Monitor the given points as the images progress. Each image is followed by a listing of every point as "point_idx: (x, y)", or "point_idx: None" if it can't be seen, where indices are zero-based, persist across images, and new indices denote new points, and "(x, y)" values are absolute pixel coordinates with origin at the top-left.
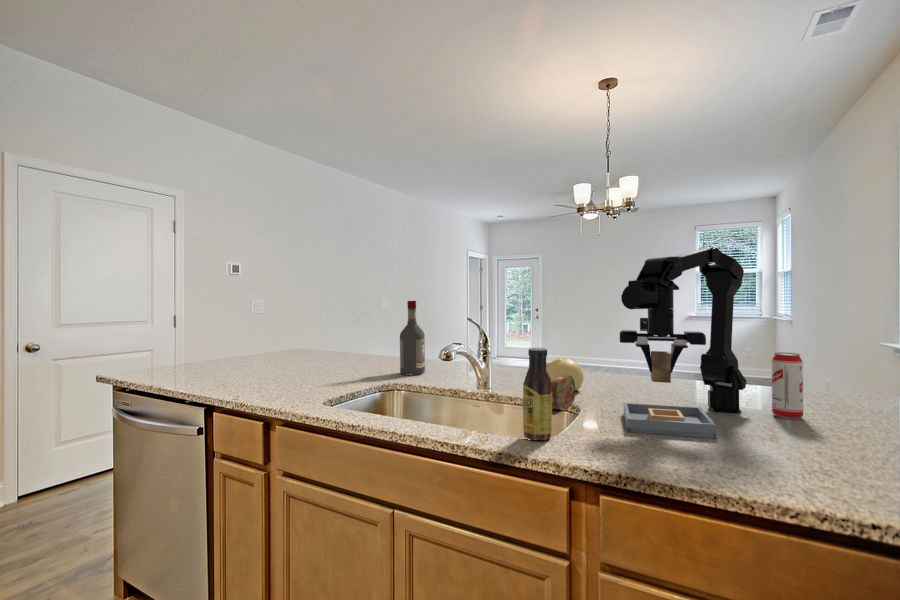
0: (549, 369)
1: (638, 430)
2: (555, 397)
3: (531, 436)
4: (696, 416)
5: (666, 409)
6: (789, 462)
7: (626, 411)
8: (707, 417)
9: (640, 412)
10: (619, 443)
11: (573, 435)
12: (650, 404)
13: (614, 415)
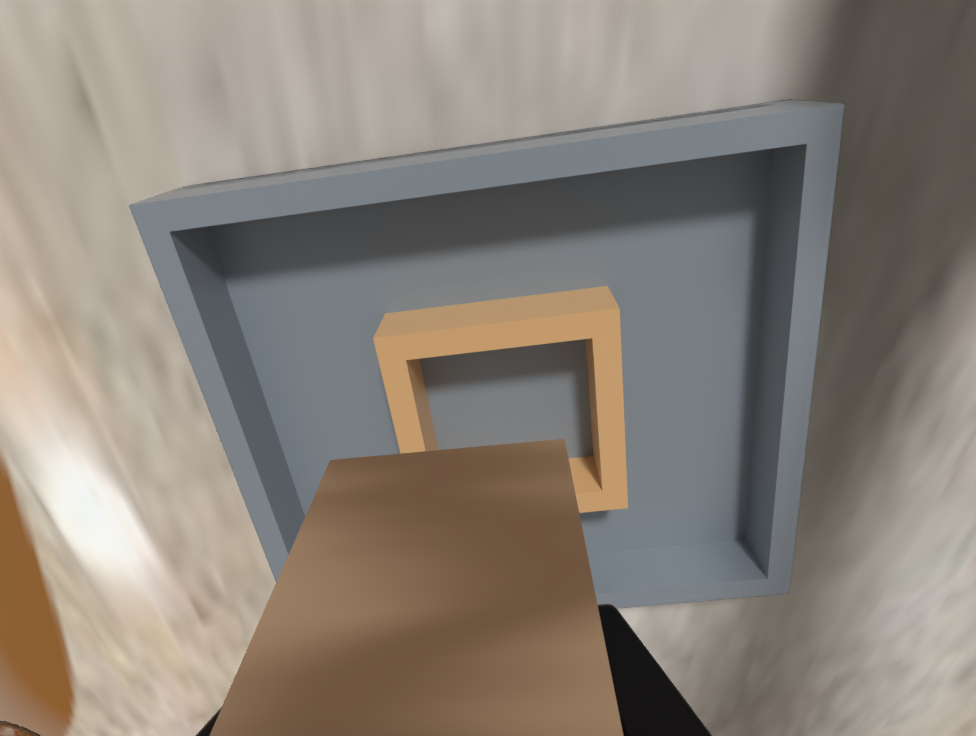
0: None
1: None
2: None
3: None
4: (755, 168)
5: (518, 323)
6: (944, 704)
7: (246, 489)
8: (789, 453)
9: (311, 215)
10: None
11: (115, 688)
12: (374, 181)
13: (136, 255)
